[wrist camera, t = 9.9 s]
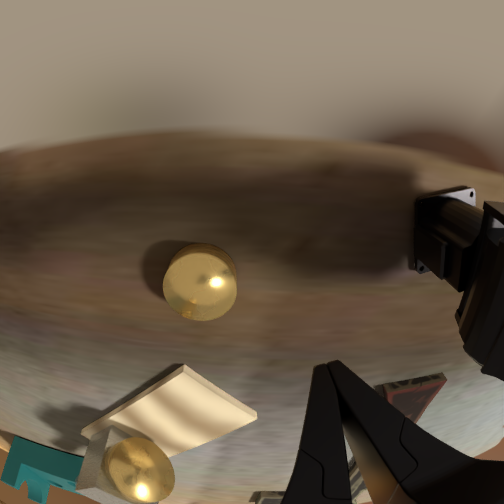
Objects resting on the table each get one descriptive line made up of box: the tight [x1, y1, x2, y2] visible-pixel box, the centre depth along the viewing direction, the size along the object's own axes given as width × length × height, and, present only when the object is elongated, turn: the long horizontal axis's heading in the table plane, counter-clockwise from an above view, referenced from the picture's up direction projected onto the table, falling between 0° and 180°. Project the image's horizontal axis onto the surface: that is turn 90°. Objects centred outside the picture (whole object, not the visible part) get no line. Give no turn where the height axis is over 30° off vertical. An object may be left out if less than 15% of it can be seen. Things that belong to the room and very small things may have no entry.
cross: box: [255, 373, 447, 504], centre depth 38 cm, size 35×2×45 cm
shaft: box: [75, 437, 175, 503], centre depth 27 cm, size 17×8×8 cm, turn 131°
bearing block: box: [75, 425, 159, 504], centre depth 26 cm, size 6×8×9 cm
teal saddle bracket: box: [1, 436, 84, 504], centre depth 32 cm, size 18×11×10 cm, turn 89°
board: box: [81, 364, 257, 457], centre depth 29 cm, size 22×10×1 cm, turn 131°
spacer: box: [163, 243, 237, 321], centre depth 21 cm, size 5×5×2 cm
